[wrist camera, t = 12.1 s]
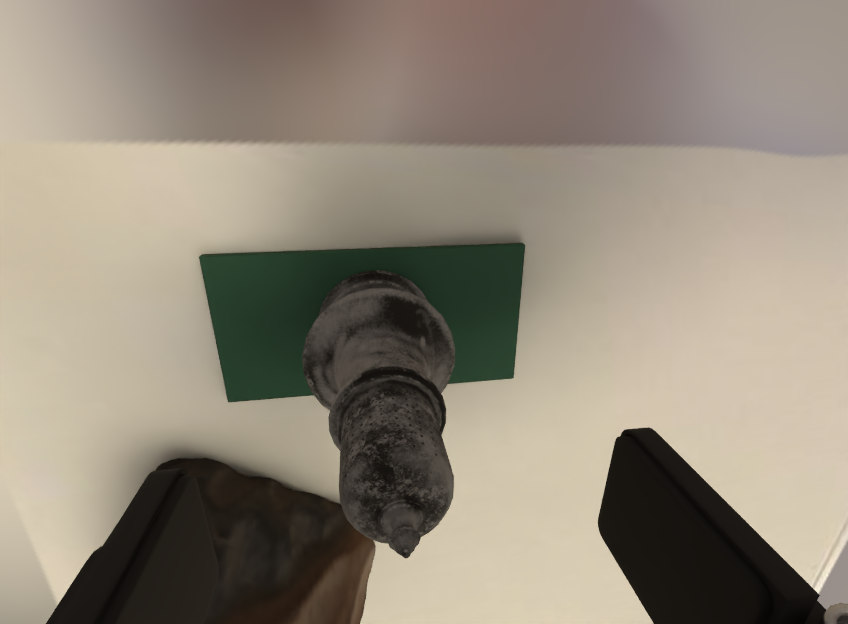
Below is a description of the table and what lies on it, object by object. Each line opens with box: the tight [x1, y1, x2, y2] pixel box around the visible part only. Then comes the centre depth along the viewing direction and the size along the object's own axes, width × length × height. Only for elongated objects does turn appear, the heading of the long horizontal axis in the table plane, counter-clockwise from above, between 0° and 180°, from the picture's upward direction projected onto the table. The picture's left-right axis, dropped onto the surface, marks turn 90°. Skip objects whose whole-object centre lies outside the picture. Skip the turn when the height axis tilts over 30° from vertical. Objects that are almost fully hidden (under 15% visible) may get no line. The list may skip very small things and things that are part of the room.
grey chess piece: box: [302, 270, 455, 558], centre depth 14 cm, size 6×6×12 cm
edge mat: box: [199, 243, 525, 402], centre depth 20 cm, size 14×7×1 cm, turn 90°
